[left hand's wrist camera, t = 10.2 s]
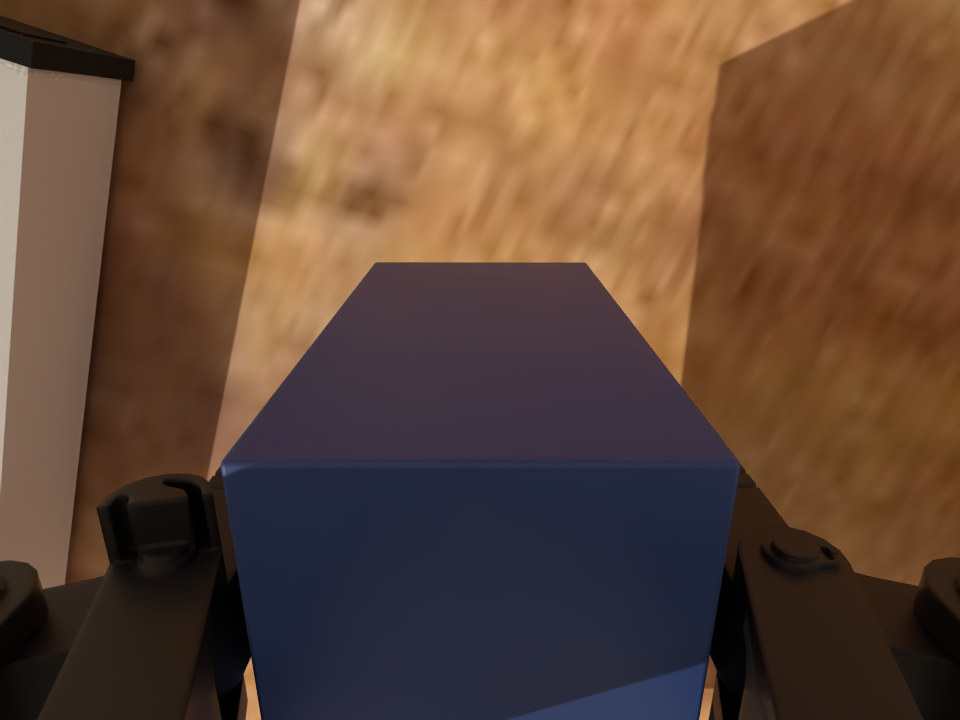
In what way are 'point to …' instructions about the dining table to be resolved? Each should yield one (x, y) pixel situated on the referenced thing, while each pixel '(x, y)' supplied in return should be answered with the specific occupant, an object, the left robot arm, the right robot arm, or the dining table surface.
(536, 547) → the bar
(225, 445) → the dining table surface
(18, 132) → the disc drive
